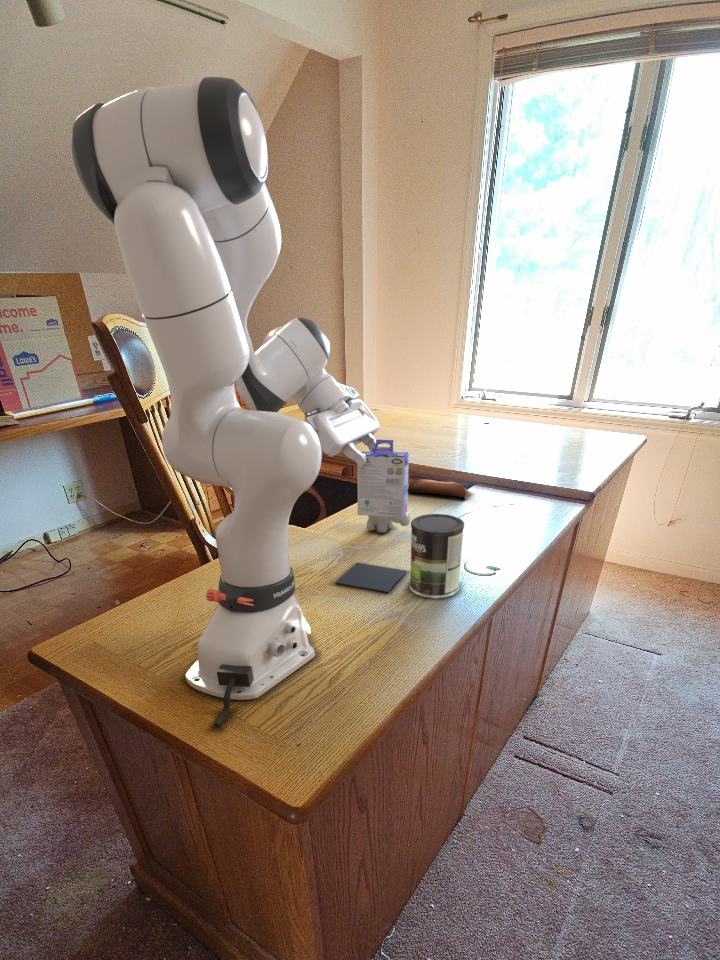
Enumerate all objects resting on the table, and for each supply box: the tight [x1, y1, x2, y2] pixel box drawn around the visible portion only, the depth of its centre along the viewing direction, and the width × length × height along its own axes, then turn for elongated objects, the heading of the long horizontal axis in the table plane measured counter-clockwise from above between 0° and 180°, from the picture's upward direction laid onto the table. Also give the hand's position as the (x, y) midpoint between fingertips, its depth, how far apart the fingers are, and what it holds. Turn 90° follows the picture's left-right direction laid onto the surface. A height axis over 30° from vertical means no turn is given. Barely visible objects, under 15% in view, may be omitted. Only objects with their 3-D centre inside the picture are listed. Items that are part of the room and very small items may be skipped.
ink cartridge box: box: [356, 439, 410, 517], centre depth 113 cm, size 10×6×14 cm, turn 78°
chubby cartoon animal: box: [366, 512, 411, 534], centre depth 142 cm, size 7×12×8 cm, turn 56°
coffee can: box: [409, 513, 465, 600], centre depth 112 cm, size 10×10×14 cm
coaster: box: [335, 562, 408, 594], centre depth 121 cm, size 11×12×1 cm
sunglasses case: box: [408, 478, 472, 500], centre depth 170 cm, size 18×7×7 cm, turn 64°
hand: (372, 459), depth 112 cm, fingers closed on ink cartridge box, 6 cm apart
